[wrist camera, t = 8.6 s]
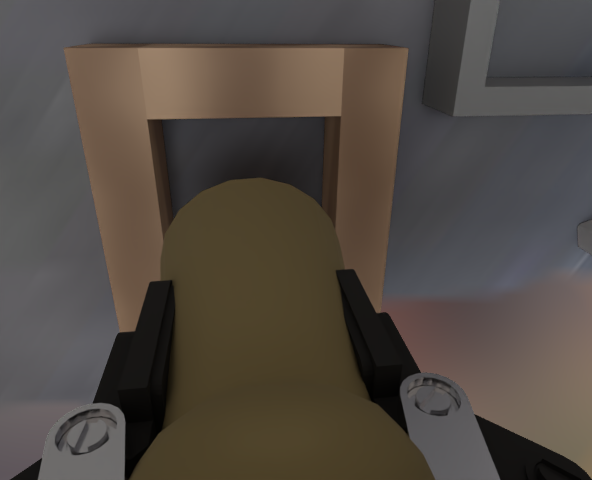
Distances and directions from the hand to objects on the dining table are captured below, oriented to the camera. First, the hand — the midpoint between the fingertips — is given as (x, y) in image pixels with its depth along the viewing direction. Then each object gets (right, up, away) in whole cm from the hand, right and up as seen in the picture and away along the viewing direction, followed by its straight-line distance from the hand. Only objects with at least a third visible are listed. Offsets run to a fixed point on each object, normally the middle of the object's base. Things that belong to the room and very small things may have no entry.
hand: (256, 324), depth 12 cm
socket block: (-1, +5, +11) cm, 12 cm away
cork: (0, +2, +3) cm, 4 cm away
